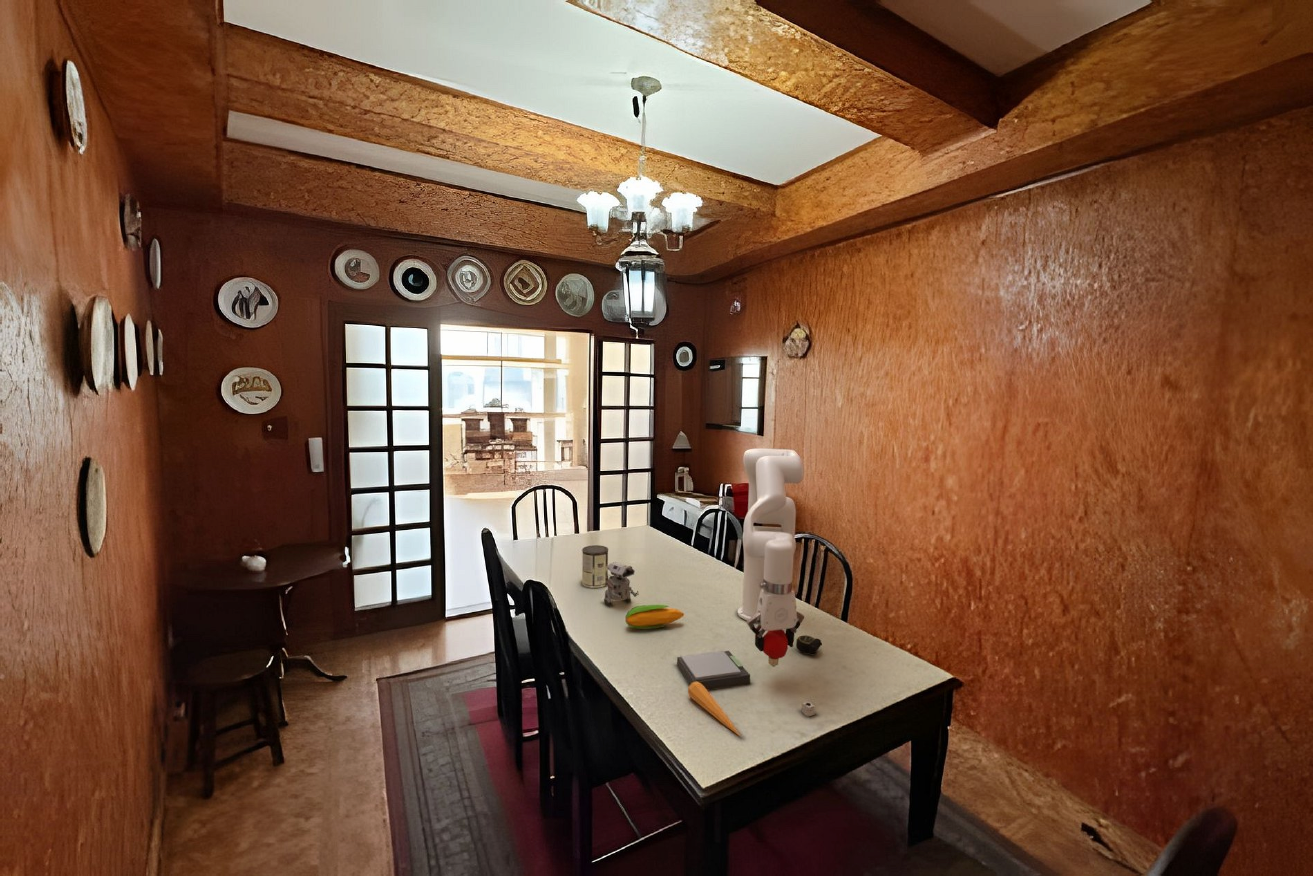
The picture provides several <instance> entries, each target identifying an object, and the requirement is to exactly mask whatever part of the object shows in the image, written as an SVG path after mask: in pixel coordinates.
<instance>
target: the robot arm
mask: <svg viewBox="0 0 1313 876" xmlns="http://www.w3.org/2000/svg"><path fill="white" fill-rule="evenodd" d="M742 461H743V466H744V470H745V473H746V475H747V480H748V499H747V500H748V501H747V502H748V504H747V512H746V515H745V518H744V521H743V532H742V546H743V581H742V582H743V583H742V605H741V606H740V607H738V609H737V615H738V617H739V618H741V619H743V620H745V621H746V624H747V626H748V627H749V629H750V630H751V632H752V633H754V646H755V647H756V648H757V650H758V651H759V652H763V647H764V637H763V636H764V635H765V634H766V633H765V632H768V631H773V630H781V629H782V630H785V634H786V636H787V639H788V647H789V648H793V647H794V642H795V634H796V633H797V630H798V629H799V628H800V627H801V625H802V624H801V623H802V622H803V621H804V619H805V615H804V614H802V613H801V612H799V611H797V599H796V593H795V591H794V590H793V588H792V587H793V576H794V575H793V572H794V557H795V555H794V554H795V553H796V549H797V541H796V538H795V537H796V518H797V517H796V516H797V510H796V509H797V508H796V504H795V501H794V499H793V498H791V497H788V496H787V492H786V484H795V485H798V484H800V483H802V481H803V480H804V477H805V467H804V462H803V460H802V458H801V457H800V455H799V454H798V452H797V451H795V450H794V449H784V448H763V447H762V448H759V447H758V448H757V447H756V448H749V449H747V450H746V451H744V453H743V459H742ZM755 523H756V524H762V526H760V525H754V524H755ZM763 524H764V525H780V526H781V527H780V526H778V527H777V526H763ZM756 623H757V624H756ZM755 624H756V626H755Z"/></svg>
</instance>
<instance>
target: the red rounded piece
mask: <svg viewBox="0 0 1313 876" xmlns="http://www.w3.org/2000/svg"><path fill="white" fill-rule="evenodd" d="M785 633H786V631H784V629H781V630H773V631H766V633H764V634H763V637H764V647H763V651H762V652H763V653H764V654H765V656H768V665H770V666H771V667H774V668H775V667H776V666H779V659H782V658H784V657H785V656H786V655H787V651H788V649H789V648H788V647H789V646H788V639H787V636H786V634H785Z"/></svg>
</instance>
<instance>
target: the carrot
mask: <svg viewBox="0 0 1313 876" xmlns="http://www.w3.org/2000/svg"><path fill="white" fill-rule="evenodd" d="M687 694H688V697H690V698H691V699H692V700H693V701H694V702H696V703H697V704H698V705H699V706H701V707H702V708H703V709H704V710H705V711H707V712H708V713H709V714H710V715H712V716H713V717H714V718H715V719H717V720H718V721H719V722H720V723H721V724H723V725H724V726H725V727H727V728H728V730H729V729H730V730H731V731H732V732H734V733H735V734H736V735H738V736H739V737H740V738H742V736H741V735H740V732H739V731H738V729H736V727H735V726H734V724H733V723H732V721H731V720H730V718H729V717H728V716H727V715H726V713H725V712H724V710H723V709H722V708H721V706H720V705H719V703H717V701H716V700H715V699H714V697H713V696H712V694H711V693H710V692H709V691H708V690H706V688H705V687H704V686H703V685H702V684H701V683H699V682H697V681H696V682H693V683H692V684H691V685H690V684H689V686H688V689H687Z"/></svg>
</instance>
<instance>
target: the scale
mask: <svg viewBox="0 0 1313 876" xmlns="http://www.w3.org/2000/svg"><path fill="white" fill-rule="evenodd" d="M676 658H677V659H676V666H677V668H678V669H679V671H680V672H681V674H682V675H683V677H684V678H685V681H686V682H687V683H688V685H689V686H690V685H691V684H692V683H693V682H696V681H697V682H699V683H701V684H702V685H703V686H704V687H705V688H706V690H707V691H708V690H709V691H710V690H715V689H716V690H717V689H723V688H728V687H735V686H736V687H737V686H743V685H750V684H751V674H750V673H749V671H747V669H746V668H745V667H744V665H743V664H742V663H741V662H740V661H739V659H738V658H737V657H736V656H735V655H733V653H731V651H730V650H717V651H710V652H709V651H708V652H701V653H693V654H685V655H684V654H683V655H680V656H677V657H676Z"/></svg>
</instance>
